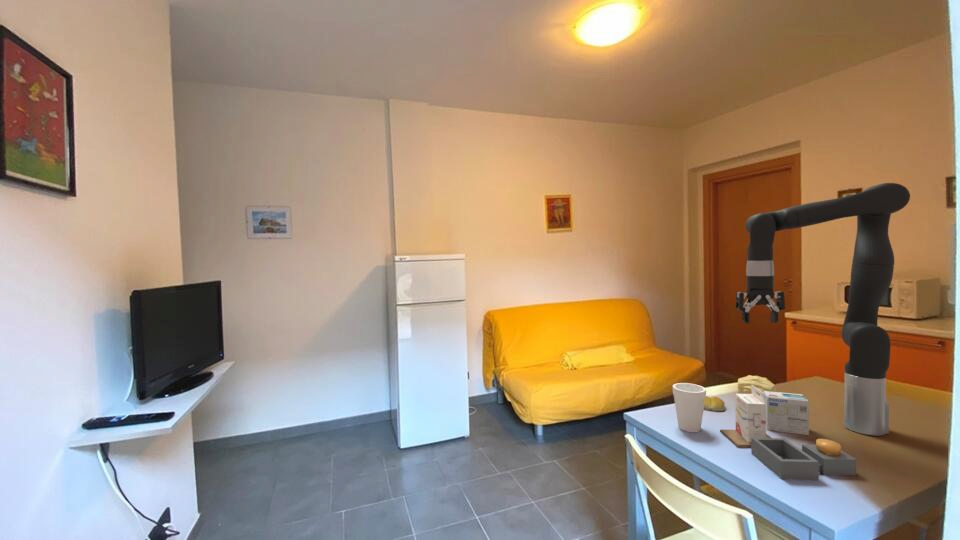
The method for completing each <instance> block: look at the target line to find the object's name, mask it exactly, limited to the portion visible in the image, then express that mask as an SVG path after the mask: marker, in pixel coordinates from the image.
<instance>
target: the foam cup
mask: <svg viewBox="0 0 960 540" xmlns="http://www.w3.org/2000/svg"><path fill="white" fill-rule="evenodd" d="M672 394H673V399H674V406H675V411H676V419H677V426H678V428H679V429H680V430H683V431H686V432H690V433H696V432H700V431H701V428H702V422H703V414H704V410H705V409H704V403H705V398H706V396H707V389H706V387H704V386H702V385H698V384H695V383H689V382H680V383H679V382H678V383H674V384H672Z"/></svg>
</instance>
